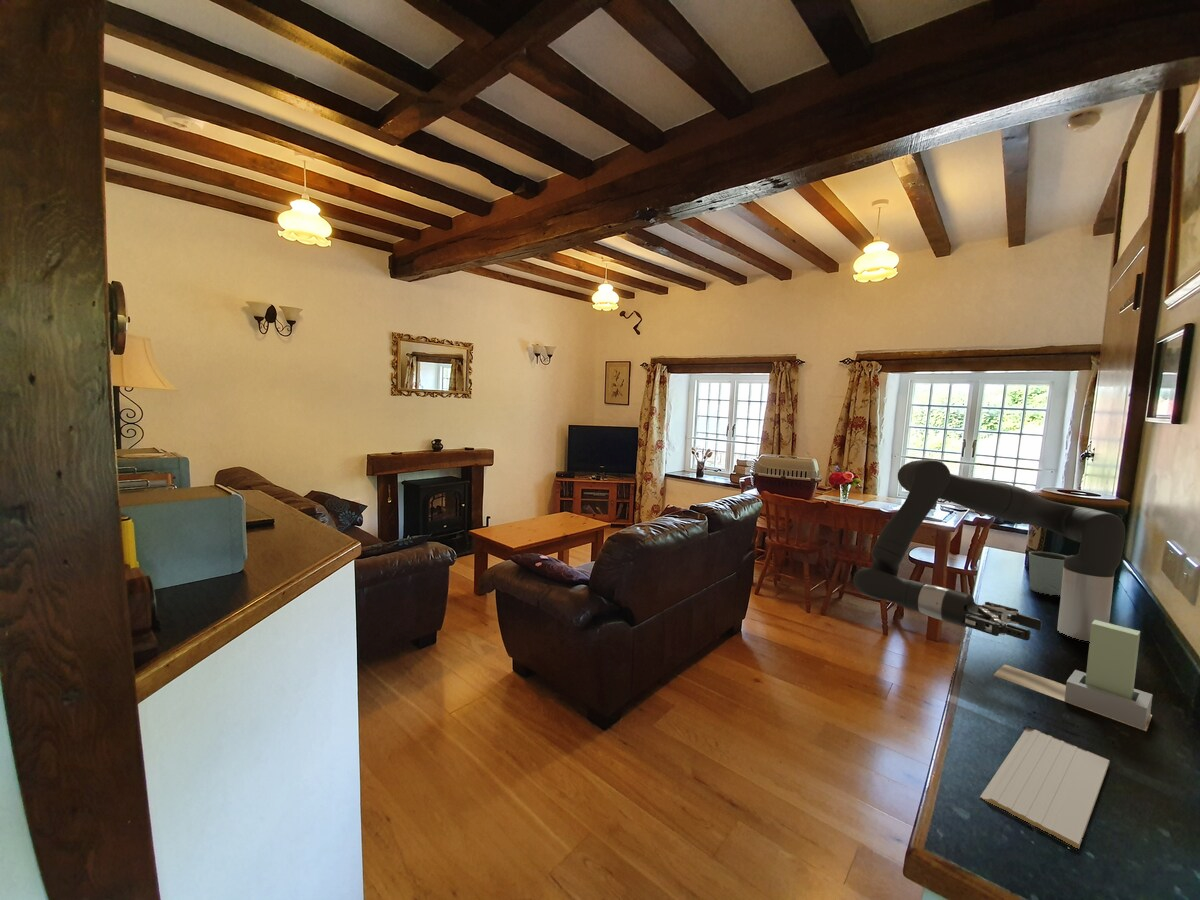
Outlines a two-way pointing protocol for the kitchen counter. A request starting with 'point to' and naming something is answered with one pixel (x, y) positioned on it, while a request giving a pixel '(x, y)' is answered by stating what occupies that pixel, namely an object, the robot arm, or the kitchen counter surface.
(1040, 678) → the board
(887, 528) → the robot arm
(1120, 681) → the slat
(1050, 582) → the grey-green pot
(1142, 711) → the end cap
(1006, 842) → the kitchen counter surface
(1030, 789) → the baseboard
